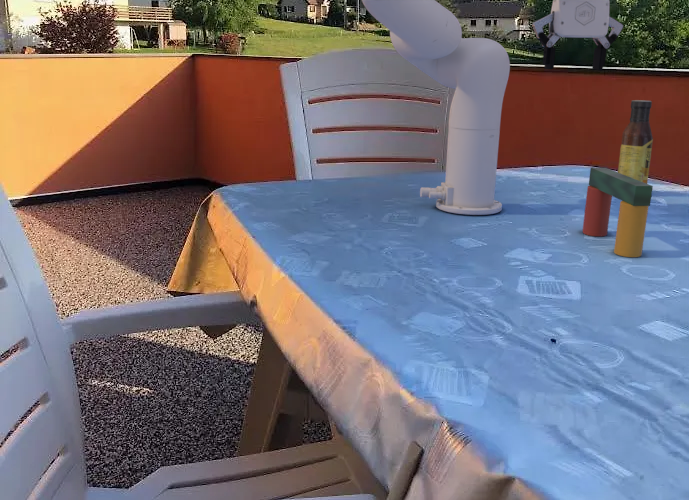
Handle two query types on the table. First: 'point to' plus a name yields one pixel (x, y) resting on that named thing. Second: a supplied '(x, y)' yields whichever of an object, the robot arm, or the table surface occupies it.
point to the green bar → (621, 186)
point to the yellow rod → (630, 230)
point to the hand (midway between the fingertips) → (573, 69)
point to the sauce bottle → (637, 143)
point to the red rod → (596, 212)
